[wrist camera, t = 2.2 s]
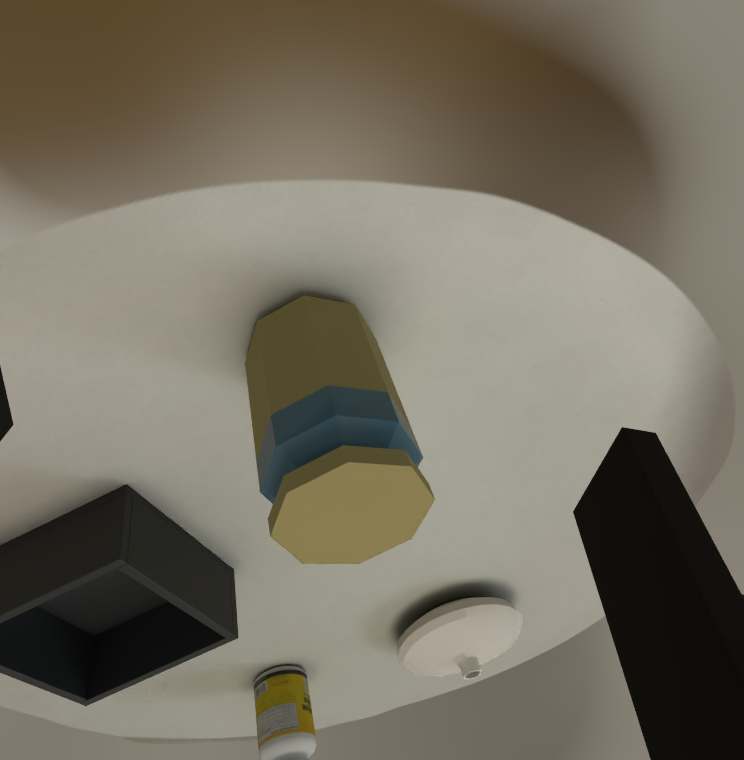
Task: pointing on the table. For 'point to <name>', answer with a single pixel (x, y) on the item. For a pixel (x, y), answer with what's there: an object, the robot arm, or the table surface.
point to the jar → (331, 436)
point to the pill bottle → (284, 714)
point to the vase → (459, 637)
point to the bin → (109, 599)
